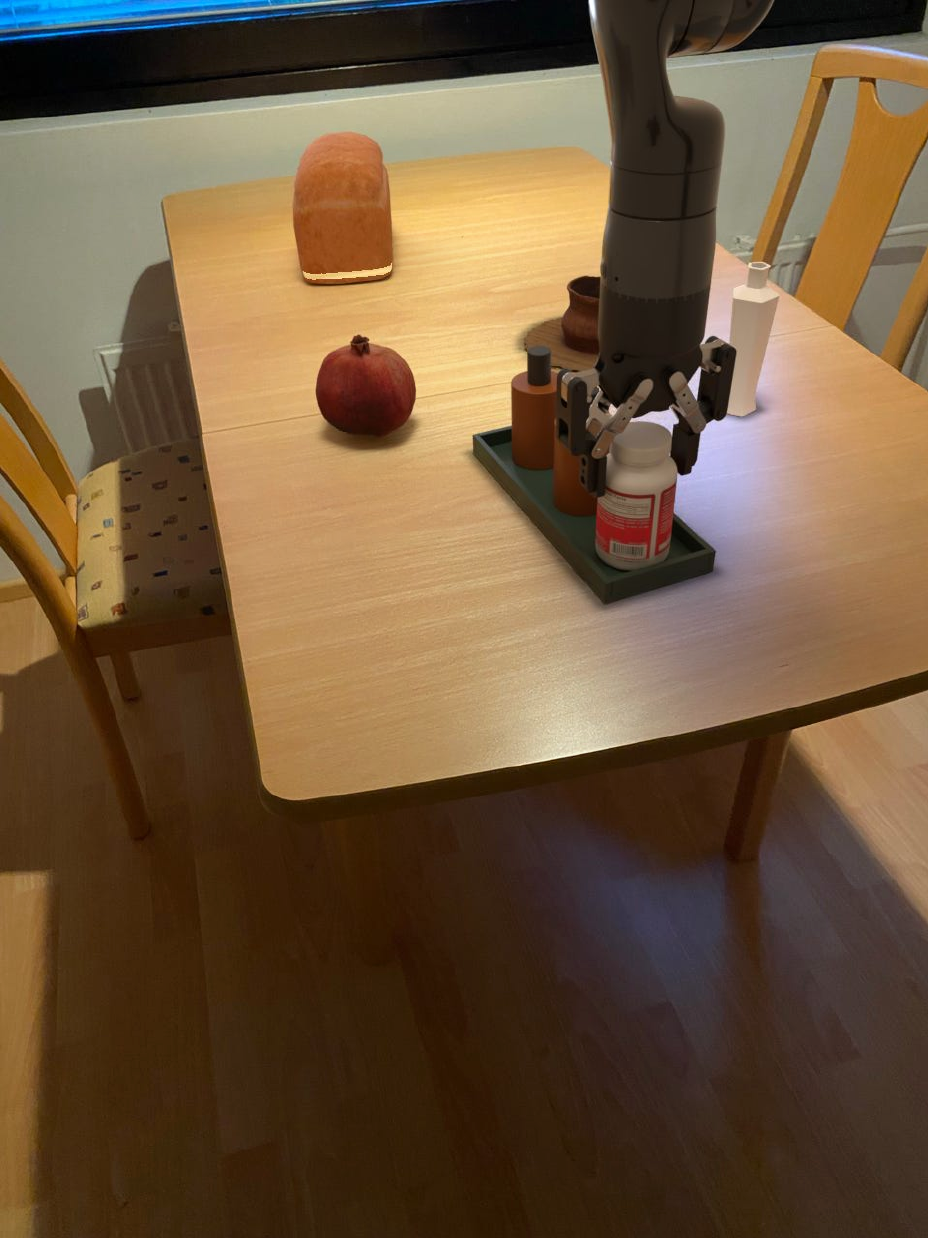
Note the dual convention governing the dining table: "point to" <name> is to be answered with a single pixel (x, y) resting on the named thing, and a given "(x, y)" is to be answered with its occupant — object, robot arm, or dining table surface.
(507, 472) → the tray
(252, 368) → the dining table surface
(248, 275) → the dining table surface
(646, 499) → the pill bottle
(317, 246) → the bread
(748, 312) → the white faceted vase
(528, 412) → the amber bottle far
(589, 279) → the ceramic pot
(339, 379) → the fruit
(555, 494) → the amber bottle middle
